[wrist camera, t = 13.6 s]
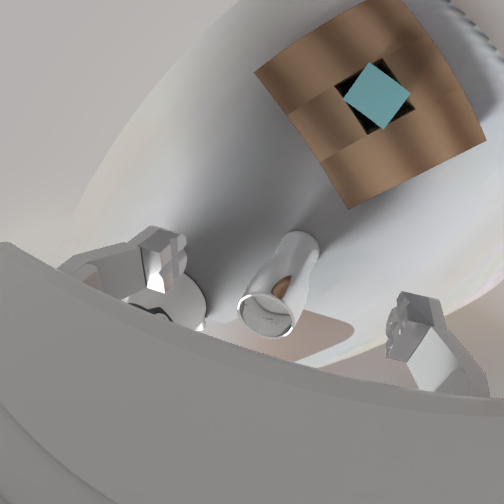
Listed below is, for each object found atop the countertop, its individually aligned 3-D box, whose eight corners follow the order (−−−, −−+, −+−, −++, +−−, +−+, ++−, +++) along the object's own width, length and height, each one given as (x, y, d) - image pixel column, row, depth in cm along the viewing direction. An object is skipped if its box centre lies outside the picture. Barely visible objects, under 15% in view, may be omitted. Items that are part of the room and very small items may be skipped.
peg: (377, 119, 29) (383, 129, 20) (350, 99, 29) (342, 99, 20) (396, 94, 27) (410, 93, 17) (368, 74, 27) (368, 62, 17)
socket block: (351, 192, 35) (348, 209, 30) (271, 75, 31) (253, 72, 26) (469, 132, 25) (486, 140, 20) (387, 4, 21) (390, -12, 16)
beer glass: (323, 270, 43) (298, 344, 31) (279, 267, 45) (241, 335, 34) (321, 228, 39) (294, 295, 28) (274, 226, 42) (229, 288, 30)
